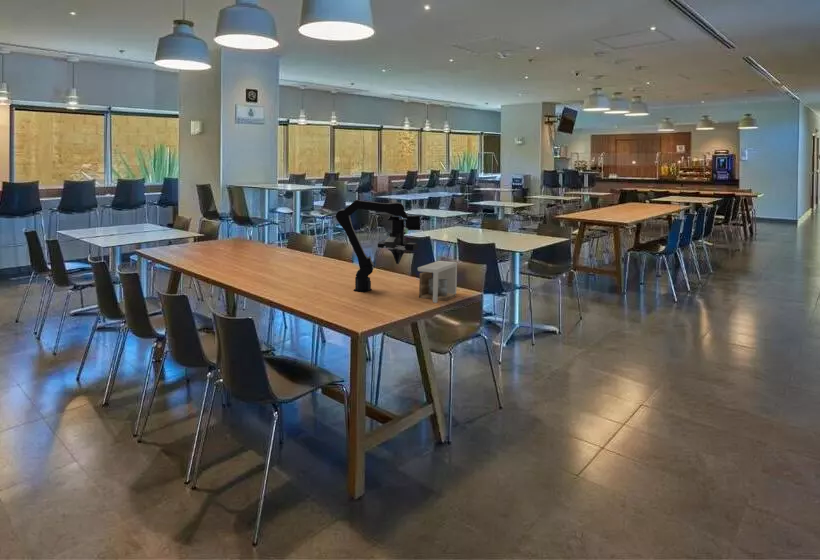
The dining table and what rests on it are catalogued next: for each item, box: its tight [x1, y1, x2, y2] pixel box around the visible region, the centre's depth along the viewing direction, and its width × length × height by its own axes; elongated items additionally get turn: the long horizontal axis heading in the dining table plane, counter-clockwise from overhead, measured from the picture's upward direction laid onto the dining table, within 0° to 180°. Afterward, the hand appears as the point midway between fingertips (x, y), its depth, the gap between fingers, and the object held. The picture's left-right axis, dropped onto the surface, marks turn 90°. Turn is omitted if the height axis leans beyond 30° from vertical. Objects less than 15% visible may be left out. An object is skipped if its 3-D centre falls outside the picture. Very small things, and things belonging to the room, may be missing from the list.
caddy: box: [418, 271, 456, 302], centre depth 267 cm, size 13×10×11 cm
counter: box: [417, 260, 458, 304], centre depth 267 cm, size 9×21×14 cm, turn 152°
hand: (397, 263), depth 278 cm, fingers closed
